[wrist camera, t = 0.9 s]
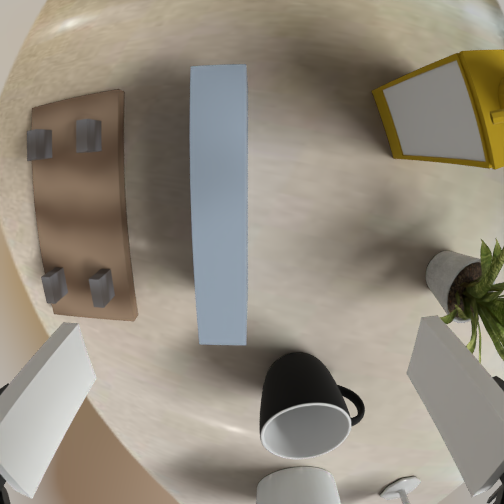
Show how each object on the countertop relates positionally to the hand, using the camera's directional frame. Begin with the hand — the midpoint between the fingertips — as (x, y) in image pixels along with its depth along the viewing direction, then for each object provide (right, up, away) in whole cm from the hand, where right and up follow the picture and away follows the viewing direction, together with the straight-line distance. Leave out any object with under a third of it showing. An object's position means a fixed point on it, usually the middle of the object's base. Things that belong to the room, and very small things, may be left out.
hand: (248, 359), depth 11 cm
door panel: (-2, +9, +19) cm, 22 cm away
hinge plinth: (-18, +8, +20) cm, 28 cm away
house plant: (+24, +1, +22) cm, 32 cm away
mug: (+7, -11, +26) cm, 29 cm away
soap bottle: (+14, +17, +17) cm, 28 cm away
